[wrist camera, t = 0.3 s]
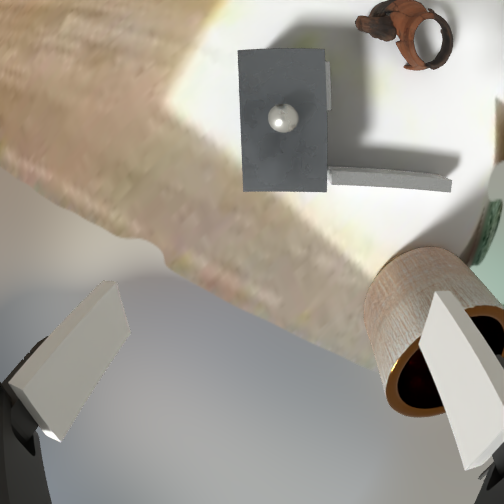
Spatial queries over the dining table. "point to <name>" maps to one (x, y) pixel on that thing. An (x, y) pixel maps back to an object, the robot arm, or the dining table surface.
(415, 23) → the brown curved piece
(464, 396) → the robot arm
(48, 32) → the dining table surface
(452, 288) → the planter
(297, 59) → the motor bracket
